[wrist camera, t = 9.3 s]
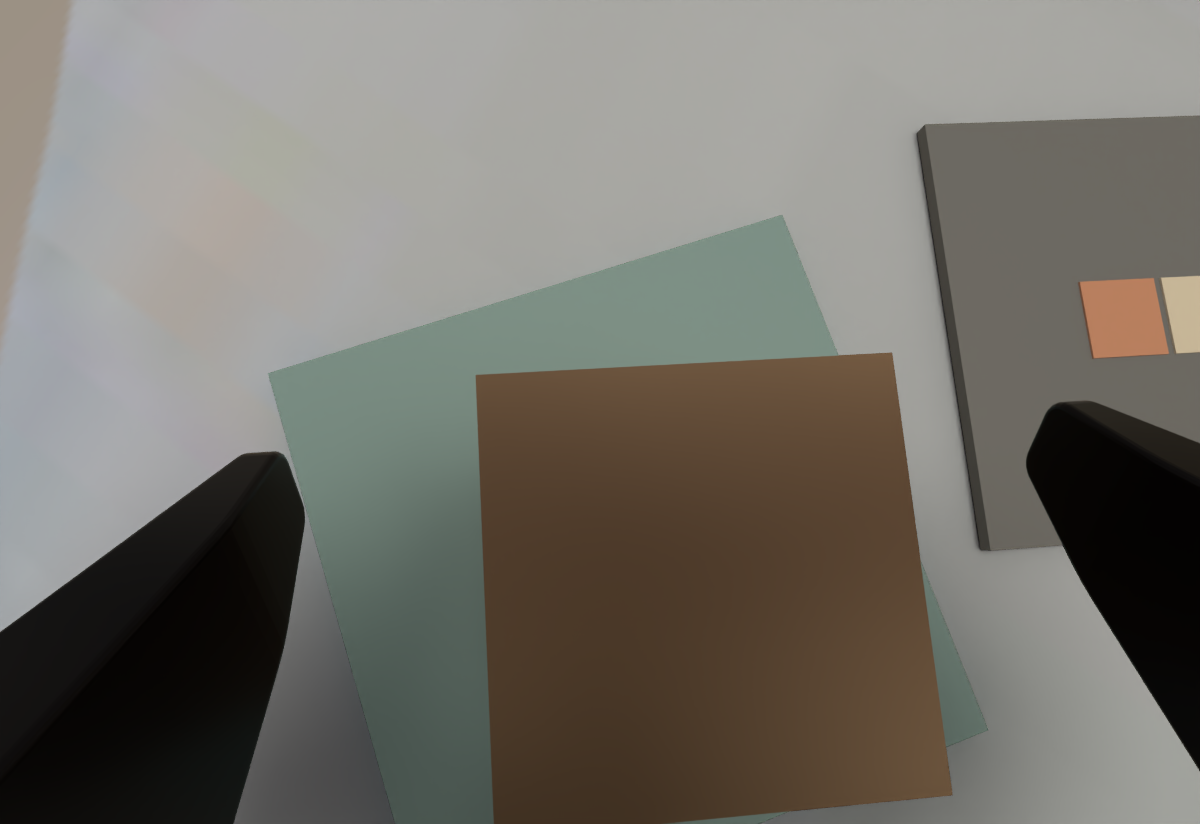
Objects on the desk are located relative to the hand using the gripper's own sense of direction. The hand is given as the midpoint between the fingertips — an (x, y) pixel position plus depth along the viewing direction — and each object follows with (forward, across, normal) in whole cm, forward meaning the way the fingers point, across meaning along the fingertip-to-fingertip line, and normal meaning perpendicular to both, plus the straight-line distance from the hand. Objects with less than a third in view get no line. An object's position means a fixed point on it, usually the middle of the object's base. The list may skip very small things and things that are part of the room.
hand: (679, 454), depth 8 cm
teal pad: (+5, 0, +7) cm, 9 cm away
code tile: (+8, -14, +4) cm, 17 cm away
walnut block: (+5, 0, +7) cm, 8 cm away
